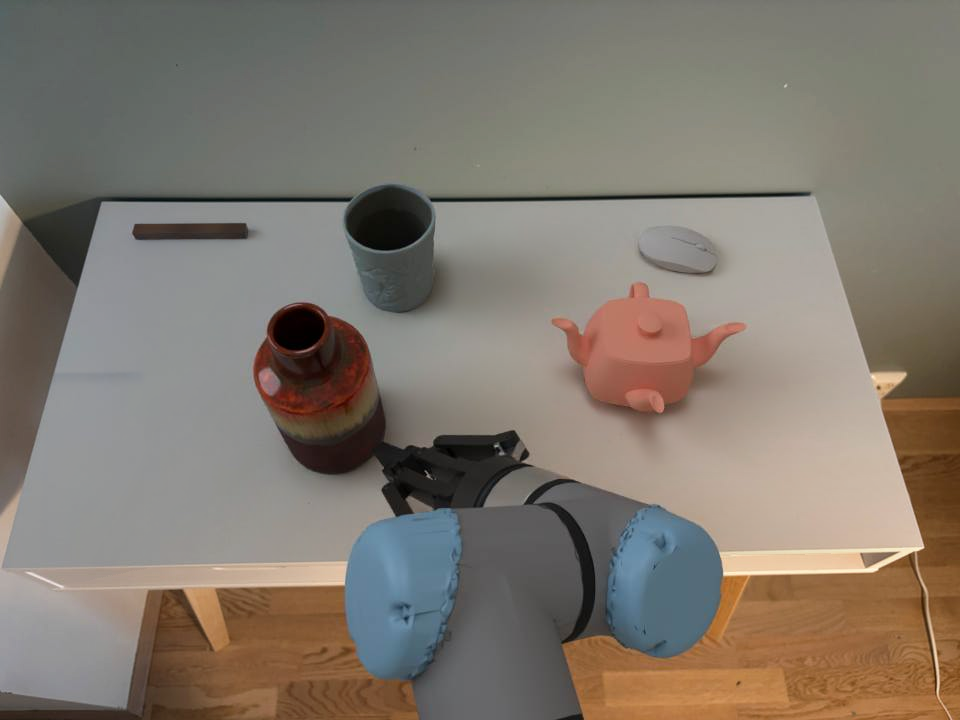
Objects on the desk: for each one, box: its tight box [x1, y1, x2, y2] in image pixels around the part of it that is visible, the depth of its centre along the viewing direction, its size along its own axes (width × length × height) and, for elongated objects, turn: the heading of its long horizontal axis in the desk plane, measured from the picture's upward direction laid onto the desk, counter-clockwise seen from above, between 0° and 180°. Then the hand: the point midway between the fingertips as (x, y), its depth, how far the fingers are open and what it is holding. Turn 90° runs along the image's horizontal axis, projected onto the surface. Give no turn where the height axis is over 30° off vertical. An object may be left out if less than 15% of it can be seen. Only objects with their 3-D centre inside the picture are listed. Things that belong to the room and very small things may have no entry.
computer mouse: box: [638, 225, 718, 274], centre depth 91 cm, size 6×10×3 cm, turn 77°
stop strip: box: [131, 222, 249, 240], centre depth 93 cm, size 14×2×1 cm, turn 91°
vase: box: [252, 301, 387, 475], centre depth 71 cm, size 11×11×20 cm
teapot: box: [550, 281, 748, 414], centre depth 79 cm, size 14×14×11 cm
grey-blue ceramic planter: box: [341, 182, 437, 313], centre depth 85 cm, size 10×10×12 cm
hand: (384, 456), depth 71 cm, fingers closed
